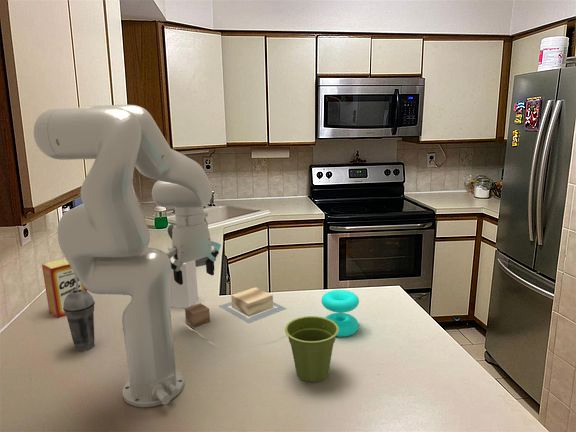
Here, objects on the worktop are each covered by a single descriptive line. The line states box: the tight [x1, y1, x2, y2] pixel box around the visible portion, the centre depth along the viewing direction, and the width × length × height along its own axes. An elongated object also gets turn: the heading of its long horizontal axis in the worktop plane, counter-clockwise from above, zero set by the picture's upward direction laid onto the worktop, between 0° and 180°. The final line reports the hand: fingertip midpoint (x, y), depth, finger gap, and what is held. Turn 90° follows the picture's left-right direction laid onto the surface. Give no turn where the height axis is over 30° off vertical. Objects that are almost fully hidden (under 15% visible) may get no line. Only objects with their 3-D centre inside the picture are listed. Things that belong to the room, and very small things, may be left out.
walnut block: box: [184, 302, 211, 331], centre depth 120 cm, size 5×5×5 cm
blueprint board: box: [219, 301, 287, 324], centre depth 129 cm, size 16×14×1 cm
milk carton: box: [167, 246, 199, 309], centre depth 132 cm, size 7×7×19 cm
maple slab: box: [230, 286, 274, 316], centre depth 128 cm, size 9×9×4 cm
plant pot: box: [284, 315, 339, 383], centre depth 94 cm, size 12×12×11 cm
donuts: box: [321, 289, 360, 338], centre depth 114 cm, size 10×10×10 cm
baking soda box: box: [41, 258, 88, 319], centre depth 131 cm, size 10×6×16 cm
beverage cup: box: [63, 274, 95, 352], centre depth 107 cm, size 7×7×20 cm
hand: (195, 278), depth 118 cm, fingers open, 9 cm apart
